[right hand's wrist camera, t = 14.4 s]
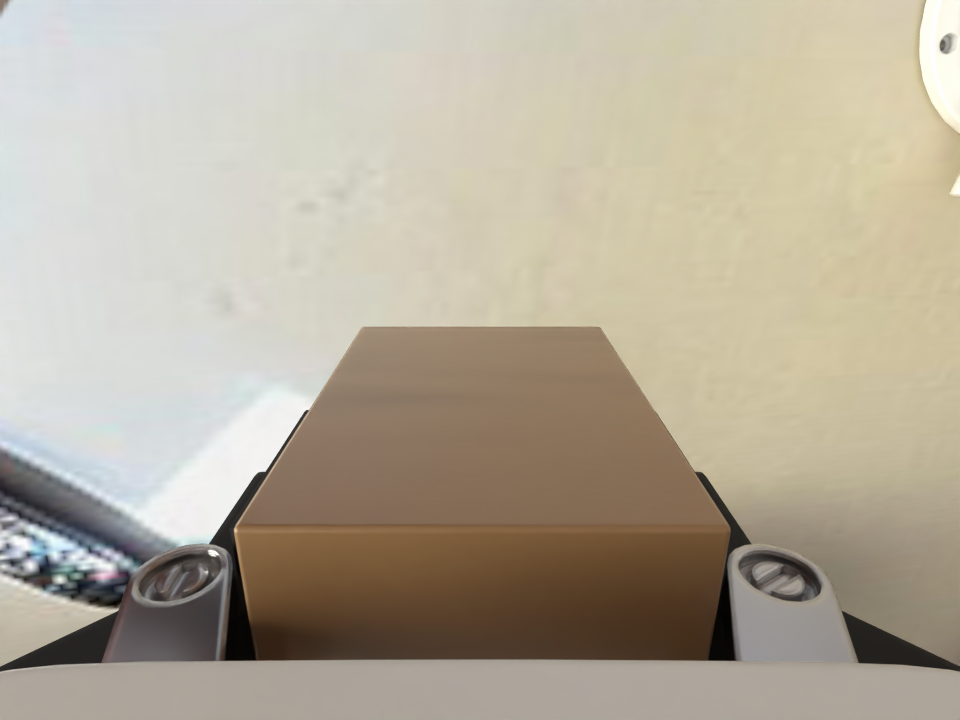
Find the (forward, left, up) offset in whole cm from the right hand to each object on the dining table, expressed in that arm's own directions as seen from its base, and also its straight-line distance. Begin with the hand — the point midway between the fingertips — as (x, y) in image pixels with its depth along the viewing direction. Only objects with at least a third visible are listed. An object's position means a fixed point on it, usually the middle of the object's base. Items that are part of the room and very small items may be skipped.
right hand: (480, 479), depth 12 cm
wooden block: (0, 0, -2) cm, 2 cm away
